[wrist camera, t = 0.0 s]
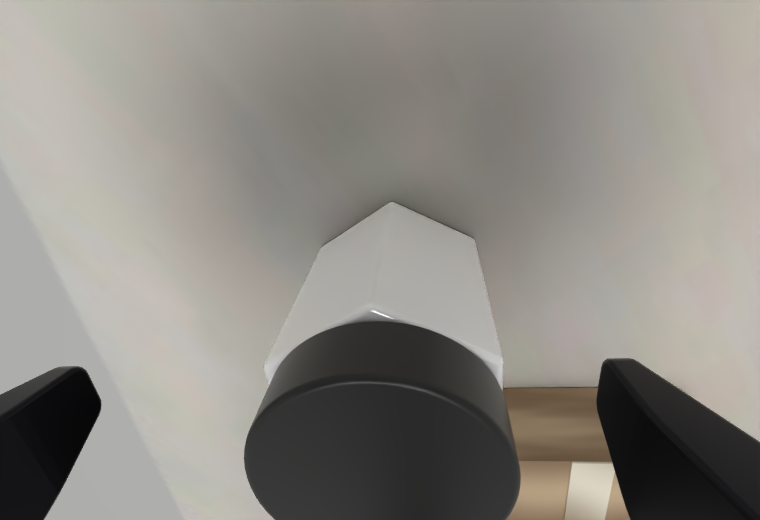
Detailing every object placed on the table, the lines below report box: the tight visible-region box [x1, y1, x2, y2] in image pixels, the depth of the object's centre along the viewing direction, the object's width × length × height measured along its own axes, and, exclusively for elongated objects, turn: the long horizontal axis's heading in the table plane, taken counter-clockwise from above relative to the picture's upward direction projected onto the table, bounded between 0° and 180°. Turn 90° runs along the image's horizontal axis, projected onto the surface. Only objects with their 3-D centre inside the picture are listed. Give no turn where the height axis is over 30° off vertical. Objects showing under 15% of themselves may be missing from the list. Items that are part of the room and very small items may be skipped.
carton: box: [503, 388, 630, 520], centre depth 26 cm, size 11×10×5 cm
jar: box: [244, 202, 521, 520], centre depth 18 cm, size 9×8×12 cm
